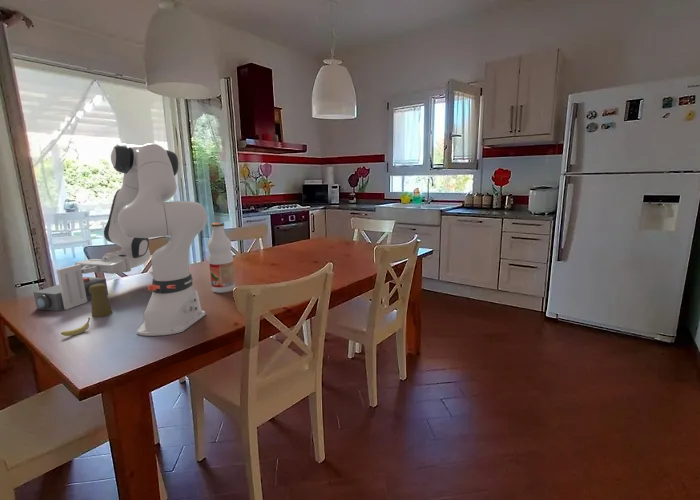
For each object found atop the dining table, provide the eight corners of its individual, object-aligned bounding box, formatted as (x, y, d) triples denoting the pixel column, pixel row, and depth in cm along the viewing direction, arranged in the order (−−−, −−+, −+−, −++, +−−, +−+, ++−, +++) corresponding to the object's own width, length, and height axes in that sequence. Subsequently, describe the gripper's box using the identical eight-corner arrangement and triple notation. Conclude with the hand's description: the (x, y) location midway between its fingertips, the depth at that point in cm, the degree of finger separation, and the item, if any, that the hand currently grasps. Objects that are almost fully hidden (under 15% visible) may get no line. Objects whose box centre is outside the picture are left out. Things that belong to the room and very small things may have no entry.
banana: (90, 328, 118) (88, 316, 117) (93, 329, 117) (91, 317, 117) (61, 338, 111) (58, 326, 111) (64, 339, 111) (61, 327, 110)
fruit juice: (234, 292, 150) (227, 224, 144) (210, 294, 149) (202, 225, 143) (237, 285, 159) (231, 221, 153) (214, 287, 158) (207, 222, 152)
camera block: (54, 313, 132) (50, 293, 130) (31, 310, 135) (27, 291, 134) (108, 293, 152) (105, 276, 151) (87, 291, 156) (84, 275, 154)
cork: (100, 318, 126) (94, 287, 124) (87, 316, 128) (82, 286, 126) (116, 312, 132) (111, 282, 129) (104, 310, 134) (99, 281, 131)
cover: (67, 309, 135) (59, 270, 131) (64, 309, 135) (56, 269, 132) (88, 302, 142) (81, 264, 139) (85, 301, 143) (78, 264, 139)
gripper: (93, 254, 155) (59, 262, 142) (131, 256, 149) (100, 264, 136) (95, 268, 156) (62, 277, 143) (134, 271, 151) (103, 281, 138)
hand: (81, 271), depth 140 cm, fingers closed, pressing on cover
